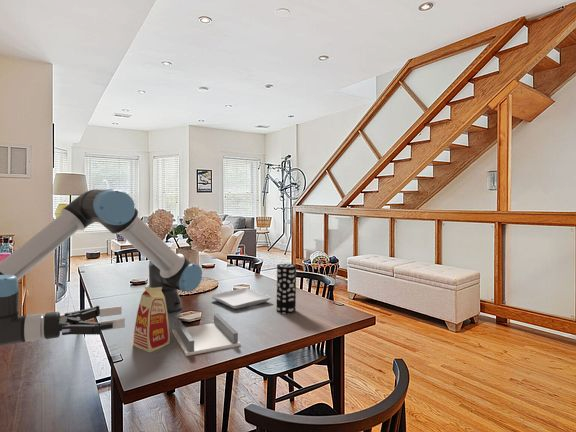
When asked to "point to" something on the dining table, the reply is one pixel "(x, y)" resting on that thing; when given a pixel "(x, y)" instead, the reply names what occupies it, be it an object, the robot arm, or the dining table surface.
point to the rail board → (205, 336)
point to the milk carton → (152, 321)
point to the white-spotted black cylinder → (286, 288)
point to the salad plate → (240, 298)
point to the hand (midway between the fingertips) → (123, 316)
